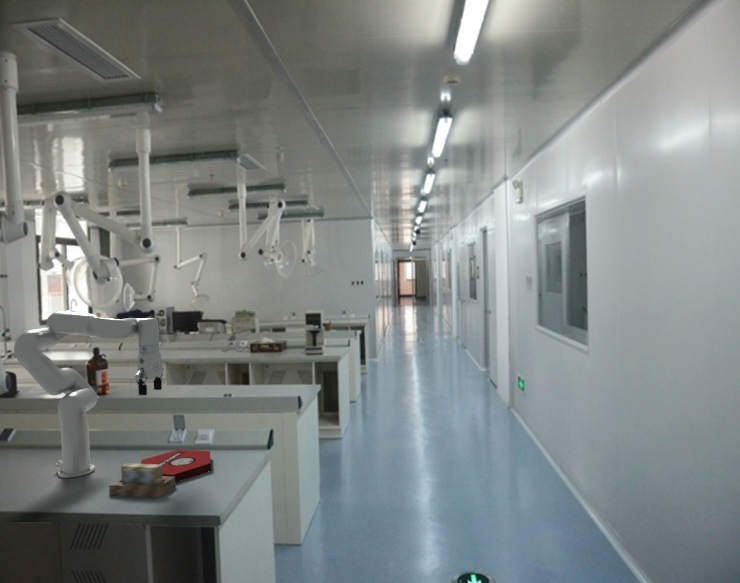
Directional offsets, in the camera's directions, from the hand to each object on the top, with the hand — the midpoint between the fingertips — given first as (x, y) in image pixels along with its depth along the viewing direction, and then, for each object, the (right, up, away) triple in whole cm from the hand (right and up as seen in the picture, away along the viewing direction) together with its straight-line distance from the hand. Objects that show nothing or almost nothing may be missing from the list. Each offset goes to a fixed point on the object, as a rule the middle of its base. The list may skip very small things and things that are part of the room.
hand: (150, 392), depth 204 cm
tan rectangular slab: (+7, -30, -22) cm, 37 cm away
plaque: (+11, -31, -1) cm, 32 cm away
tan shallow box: (+7, -31, -22) cm, 38 cm away
